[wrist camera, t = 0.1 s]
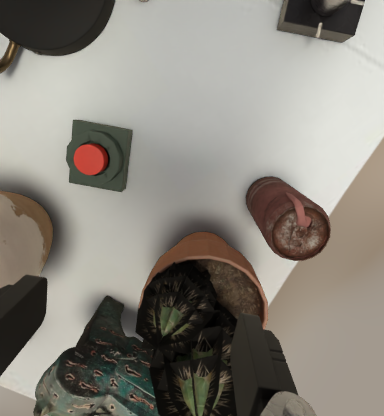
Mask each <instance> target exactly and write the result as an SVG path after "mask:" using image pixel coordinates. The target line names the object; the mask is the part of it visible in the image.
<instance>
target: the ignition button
mask: <svg viewBox="0 0 384 416" xmlns="http://www.w3.org/2000/svg"><path fill="white" fill-rule="evenodd" d="M74 163H75V166H76V167H77V169H78V170H79V171H80V172H82V173H83V174H86V175H95V174H97V173H99V172H102V171H103V170H104V169H105V168H106V167H107V165H108V155H107V152H106V151H105V149H104V148H103V147H101V146H100V145H98V144H86V145H82V146H80V147H79V148H78V149H77V150H76V151H75V154H74Z"/></svg>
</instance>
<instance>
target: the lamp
mask: <svg viewBox="0 0 384 416" xmlns="http://www.w3.org/2000/svg"><path fill="white" fill-rule="evenodd" d="M113 5H114V0H0V33H2V34H3V35H4V36H5V37H7V38H8V39H9V41H10V43H9V45H8V48H7V50H6V52H5V55H4V56H3V58H2V59H1V60H0V73H2V72H4V71H5V70H6V69H7V68H8V67H9V66H10V65H11V64H12V62H13V60H14V58H15V56H16V53H17V51H18V48H19V47H21V46H23V47H24V48H26V49H28V50H31V51H33V52H34V53H36V54H39V55H42V54H44V55H51V56H59V55H66V54H70V53H74V52H76V51H79V50H81V49H82V48H84V47H86V46H87V45H89V44H90V43H91V42H92V41H93V40H94V39H96V38H97V36H98V35H99V34H100V33H101V31H102V30H103V28H104V27H105V25H106V23H107V21H108V20H109V17H110V15H111V12H112V8H113Z"/></svg>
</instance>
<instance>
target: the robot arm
mask: <svg viewBox="0 0 384 416" xmlns="http://www.w3.org/2000/svg"><path fill="white" fill-rule="evenodd" d="M46 303H47V279H46V278H45V277H39V276H34V275H28V274H27V275H24V276H23V277H22V278H21V279H20V280H19V281H17V282H16V283H15V284H14V285H10V284H8V285H6V286H4V287H2V288H0V376H1V375H2V373H3V372H4V371H5V370H6V368H7V367H8V366H9V365H10V363H11V362H12V361H13V360H14V358H15V357H16V356H17V355H18V353H19V352H20V351H21V350H22V348H23V347H24V346H25V345H26V343H27V342H28V341H29V339H30V338H31V337H32V336H33V334H34V333H35V332H36V331H37V329H38V328H39V327H40V326H41V324H42V322H43V320H44V317H45V314H46ZM230 361H231V369H232V377H233V385H234V393H235V401H236V409H237V416H316V414H315V412H314V410H313V409H312V407H311V406H310V405H309V404H308V403H307V402H306V401H305V400H303V399H302V398H301V397H299V396H298V393H297V390H296V387H295V384H294V382H293V379H292V376H291V373H290V371H289V368H288V365H287V363H286V359H285V356H284V354H283V351H282V348H281V345H280V343H279V340H278V339H277V338H276V337H275V336H274V334H273V333H272V332H271V331H269V330H263V327H262V323H261V320H260V317H259V316H258V315H252V314H246V313H240V314H239V317H238V321H237V325H236V328H235V332H234V336H233V340H232V344H231V351H230Z"/></svg>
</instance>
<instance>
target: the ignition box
mask: <svg viewBox="0 0 384 416" xmlns="http://www.w3.org/2000/svg"><path fill="white" fill-rule="evenodd" d="M131 139H132V130H130V129H124V128H119V127H114V126H109V125H103V124H98V123H93V122H87V121H82V120H73V128H72V140H71V142H70V143H69V145H68V146H67V156H66V161H67V163H68V166H69V168H70V174H69V182H70V183H75V184H80V185H86V186H91V187H97V188H102V189H108V190H113V191H119V192H122V191H123V190H124V189H125V188H126V180H127V172H128V164H129V156H130V147H131ZM86 144H98V145H100V146H101V147H103V148H104V149H105V151H106V152H107V155H108V165H107V167H106V168H105V169H104V170H103V171H102V172H99V173H97V174H95V175H86V174H83V173H82V172H80V171H79V170H78V169H77V167H76V166H75V163H74V154H75V151H76V150H77V149H78V148H79V147H80V146H82V145H86Z"/></svg>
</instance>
